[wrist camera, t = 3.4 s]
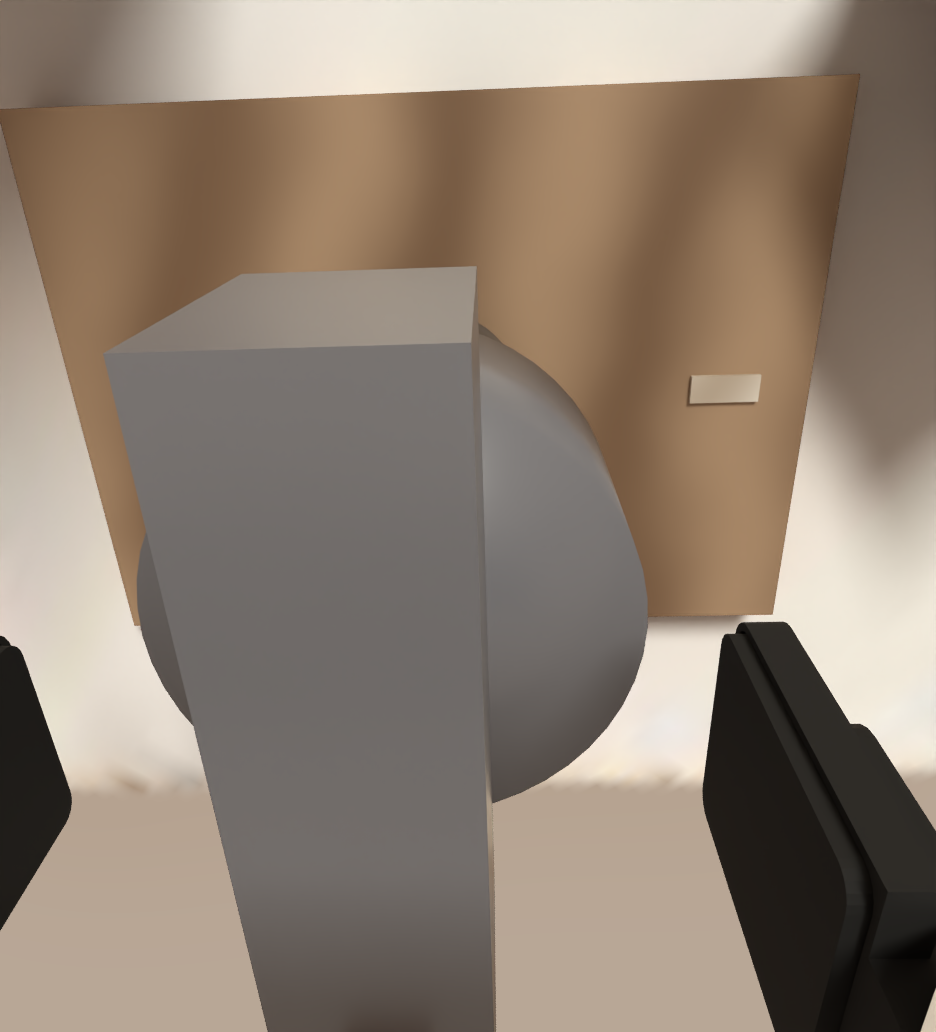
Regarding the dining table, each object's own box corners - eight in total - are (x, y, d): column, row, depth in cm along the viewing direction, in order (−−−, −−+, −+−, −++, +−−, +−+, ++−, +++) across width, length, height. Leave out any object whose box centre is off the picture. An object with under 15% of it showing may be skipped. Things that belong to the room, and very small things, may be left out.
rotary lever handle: (625, 225, 13) (815, 352, 6) (599, 726, 18) (683, 1164, 10) (164, 241, 14) (-257, 383, 6) (260, 730, 18) (97, 1160, 11)
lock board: (836, 77, 21) (1079, 39, 12) (758, 591, 28) (879, 793, 19) (27, 111, 22) (-273, 96, 13) (151, 602, 29) (8, 801, 20)
